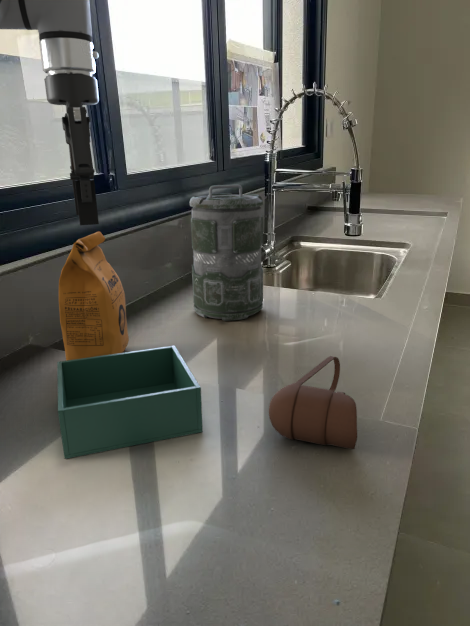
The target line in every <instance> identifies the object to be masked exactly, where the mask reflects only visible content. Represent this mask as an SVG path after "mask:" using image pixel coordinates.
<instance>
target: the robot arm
mask: <svg viewBox="0 0 470 626" xmlns="http://www.w3.org/2000/svg"><path fill="white" fill-rule="evenodd" d="M90 4H91V3H90V0H0V30H19V31H20V30H24V31H25V30H27V31H37V33H38V40H39V41H38V44H39V52H40V59H41V69H42V72H43V73H45V74H47V75H45V78H44V88H45V95H46V101H47V103H49V104H51V105H54V106H65V111H66V112H65V114H64V116H61V125H62V131H64V137H65V143H66V144H67V145H68V150H69V151H68V152H69V161H70V166H69V168H70V172H69V179H70V181H71V182H72V190H73V197H74V207H75V212H76V213H75V215H76V216H78V220H79V226H93V225H95V226H96V225H100V221H99V214H98V213H99V212H98V203H97V194H96V184H95V179H94V177H95V168H94V163H93V156H92V148H91V140H92V139H91V130H90V129H91V119H90V116H87V114H88V110H87V109H86V106H94V105H97V104H98V103H99V101H100V97H99V88H98V87H99V86H98V80H97V79H96V77H95V76H93V75H94V74H95V73H96V61H95V59H98V58H99V53H98V51H94V50H93V49H94V40H93V39H94V37H93V27H92V15H91V5H90Z"/></svg>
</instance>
